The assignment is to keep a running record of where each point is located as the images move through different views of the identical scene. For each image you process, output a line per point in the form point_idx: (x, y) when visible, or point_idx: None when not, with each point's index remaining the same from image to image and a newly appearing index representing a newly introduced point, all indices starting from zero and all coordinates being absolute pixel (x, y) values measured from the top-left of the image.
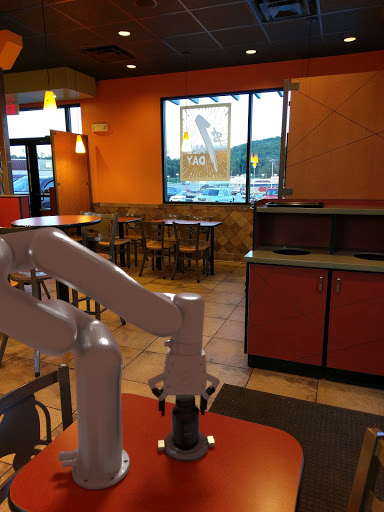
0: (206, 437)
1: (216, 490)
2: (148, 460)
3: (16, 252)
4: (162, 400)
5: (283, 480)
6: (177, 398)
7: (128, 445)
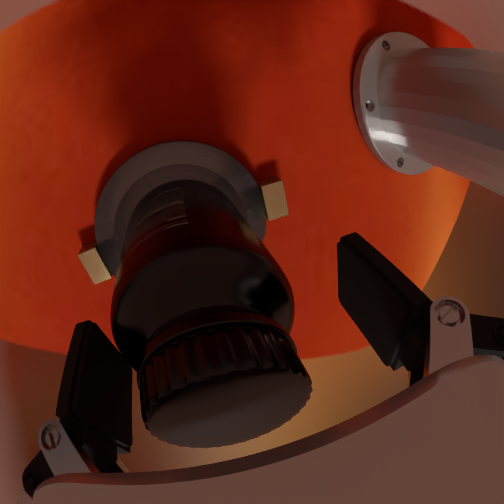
0: (114, 274)
1: (49, 52)
2: (301, 130)
3: None
4: (424, 310)
5: None
6: (299, 386)
7: (364, 191)
